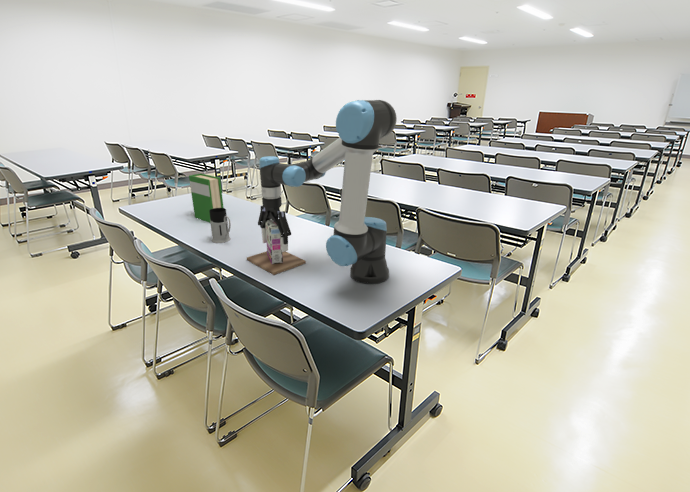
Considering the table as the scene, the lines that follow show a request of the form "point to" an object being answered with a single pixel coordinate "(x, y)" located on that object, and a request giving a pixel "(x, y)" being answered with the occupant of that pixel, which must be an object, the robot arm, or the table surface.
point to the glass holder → (219, 225)
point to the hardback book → (205, 195)
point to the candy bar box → (273, 242)
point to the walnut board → (265, 263)
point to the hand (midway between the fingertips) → (275, 246)
